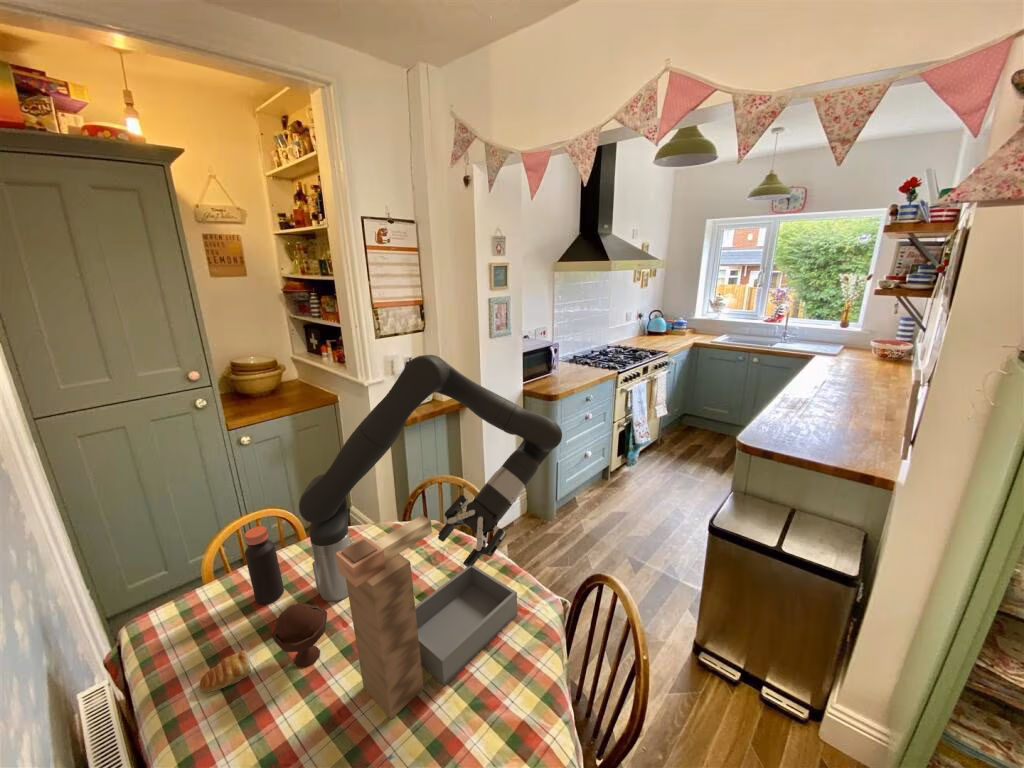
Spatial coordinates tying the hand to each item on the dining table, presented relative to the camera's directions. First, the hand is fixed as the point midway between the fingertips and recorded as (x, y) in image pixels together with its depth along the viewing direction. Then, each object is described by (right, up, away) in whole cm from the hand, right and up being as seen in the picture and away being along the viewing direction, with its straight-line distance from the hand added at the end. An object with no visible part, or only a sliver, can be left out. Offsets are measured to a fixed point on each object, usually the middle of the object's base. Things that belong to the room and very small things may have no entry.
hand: (452, 552), depth 92 cm
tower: (-12, -28, -2) cm, 30 cm away
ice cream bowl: (-34, -26, +5) cm, 43 cm away
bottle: (-52, -21, +23) cm, 61 cm away
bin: (0, -23, +11) cm, 26 cm away
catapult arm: (-11, +4, -9) cm, 15 cm away
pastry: (-49, -28, +1) cm, 56 cm away
